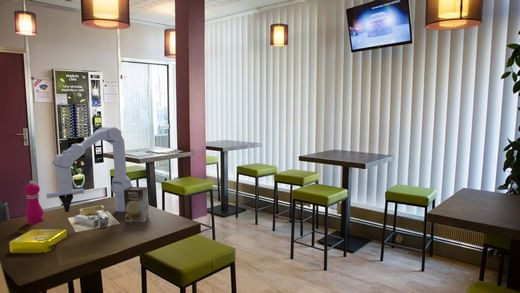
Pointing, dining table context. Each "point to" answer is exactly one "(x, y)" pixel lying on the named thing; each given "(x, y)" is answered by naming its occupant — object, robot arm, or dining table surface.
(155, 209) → the dining table surface
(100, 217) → the grey long bar
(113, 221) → the board
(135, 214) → the coffee box
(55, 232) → the element tile
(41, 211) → the pepper mill
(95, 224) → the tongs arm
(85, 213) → the tan wooden arch piece
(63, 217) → the dining table surface
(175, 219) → the dining table surface
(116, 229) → the dining table surface
